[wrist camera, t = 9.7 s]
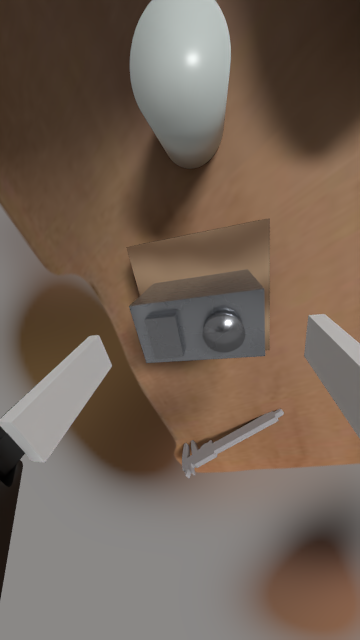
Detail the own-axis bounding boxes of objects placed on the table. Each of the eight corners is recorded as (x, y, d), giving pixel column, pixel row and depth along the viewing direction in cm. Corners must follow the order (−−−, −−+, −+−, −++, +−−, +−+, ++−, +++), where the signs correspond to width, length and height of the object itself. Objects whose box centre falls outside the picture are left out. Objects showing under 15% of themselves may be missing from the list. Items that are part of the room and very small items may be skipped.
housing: (164, 327, 24) (142, 370, 16) (153, 283, 21) (123, 311, 14) (249, 318, 21) (268, 363, 14) (247, 269, 19) (268, 292, 12)
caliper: (187, 445, 40) (183, 480, 34) (184, 441, 39) (179, 477, 34) (283, 410, 32) (298, 449, 26) (279, 406, 32) (294, 445, 26)
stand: (139, 244, 24) (126, 247, 20) (259, 220, 21) (269, 218, 17) (163, 341, 29) (157, 357, 26) (261, 333, 26) (269, 350, 23)
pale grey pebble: (155, 98, 18) (116, 13, 11) (220, 74, 17) (226, -42, 10) (168, 175, 20) (144, 146, 13) (226, 159, 19) (234, 118, 12)
